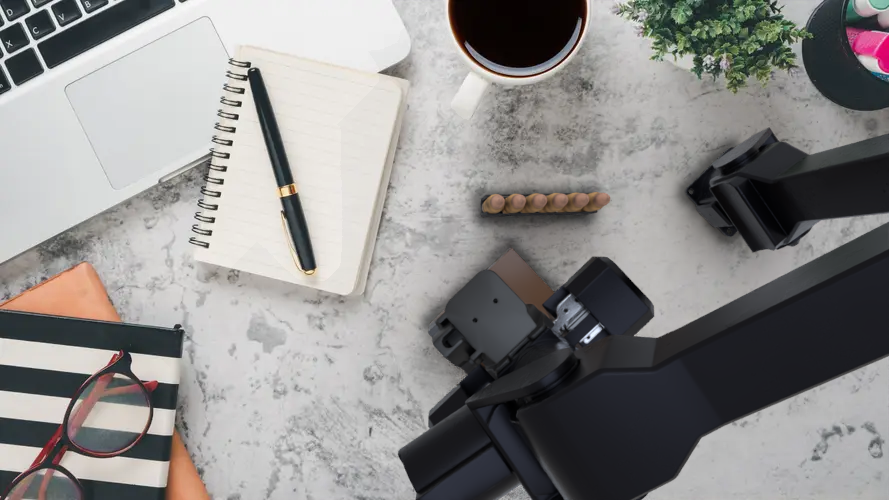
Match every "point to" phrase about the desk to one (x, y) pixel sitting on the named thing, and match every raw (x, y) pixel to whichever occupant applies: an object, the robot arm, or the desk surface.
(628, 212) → the desk surface
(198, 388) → the desk surface
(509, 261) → the walnut board
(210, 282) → the desk surface
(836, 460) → the desk surface
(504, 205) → the ammunition clip
